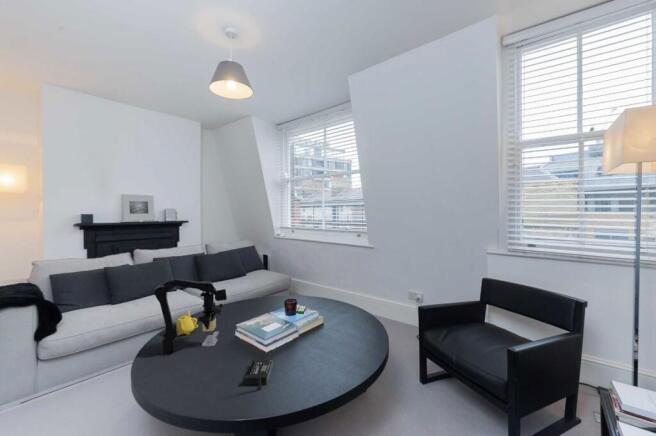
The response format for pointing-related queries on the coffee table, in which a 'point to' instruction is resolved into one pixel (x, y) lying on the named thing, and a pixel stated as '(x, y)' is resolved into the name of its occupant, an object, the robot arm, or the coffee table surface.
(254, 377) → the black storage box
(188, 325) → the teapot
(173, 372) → the coffee table surface
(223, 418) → the coffee table surface
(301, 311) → the puzzle cube
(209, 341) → the hammer
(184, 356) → the coffee table surface
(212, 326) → the brushed brass cube
